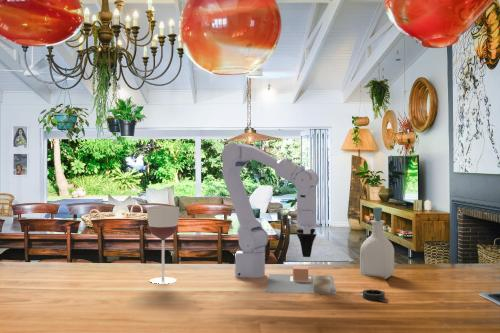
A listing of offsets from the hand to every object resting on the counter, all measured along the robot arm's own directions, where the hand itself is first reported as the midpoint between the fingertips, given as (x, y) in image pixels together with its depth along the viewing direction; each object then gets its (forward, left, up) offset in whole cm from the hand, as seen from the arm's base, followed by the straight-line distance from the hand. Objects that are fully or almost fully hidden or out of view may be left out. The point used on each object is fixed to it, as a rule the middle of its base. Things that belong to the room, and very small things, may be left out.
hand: (306, 254), depth 153 cm
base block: (-2, +3, -8) cm, 9 cm away
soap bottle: (+23, +15, -10) cm, 29 cm away
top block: (+4, -9, -8) cm, 13 cm away
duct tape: (+18, -15, -10) cm, 26 cm away
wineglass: (-45, +1, -10) cm, 46 cm away
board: (-2, -2, -10) cm, 10 cm away
